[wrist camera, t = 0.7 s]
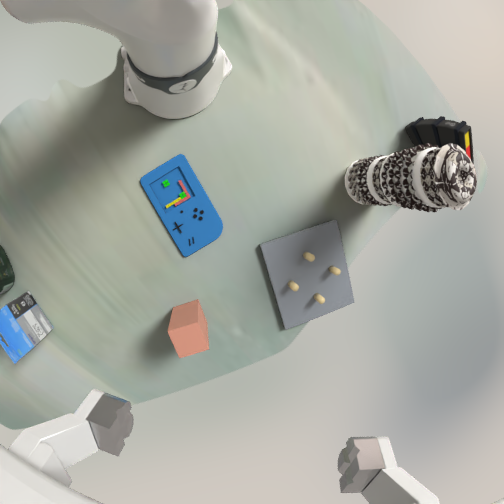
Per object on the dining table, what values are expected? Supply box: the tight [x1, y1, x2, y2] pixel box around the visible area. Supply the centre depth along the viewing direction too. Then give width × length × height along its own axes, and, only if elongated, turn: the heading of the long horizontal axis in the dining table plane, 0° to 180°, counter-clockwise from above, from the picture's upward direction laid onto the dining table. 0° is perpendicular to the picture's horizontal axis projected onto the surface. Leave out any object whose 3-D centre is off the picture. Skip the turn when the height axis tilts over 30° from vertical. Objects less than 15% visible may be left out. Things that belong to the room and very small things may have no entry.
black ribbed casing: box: [405, 117, 474, 165], centre depth 47 cm, size 4×13×15 cm, turn 37°
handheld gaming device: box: [140, 154, 223, 257], centre depth 47 cm, size 8×1×15 cm
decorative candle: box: [345, 143, 477, 212], centre depth 40 cm, size 9×9×25 cm
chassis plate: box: [260, 220, 354, 329], centre depth 51 cm, size 16×14×4 cm
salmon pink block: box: [168, 300, 209, 358], centre depth 46 cm, size 5×5×10 cm
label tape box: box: [0, 291, 53, 364], centre depth 40 cm, size 9×4×12 cm, turn 31°
